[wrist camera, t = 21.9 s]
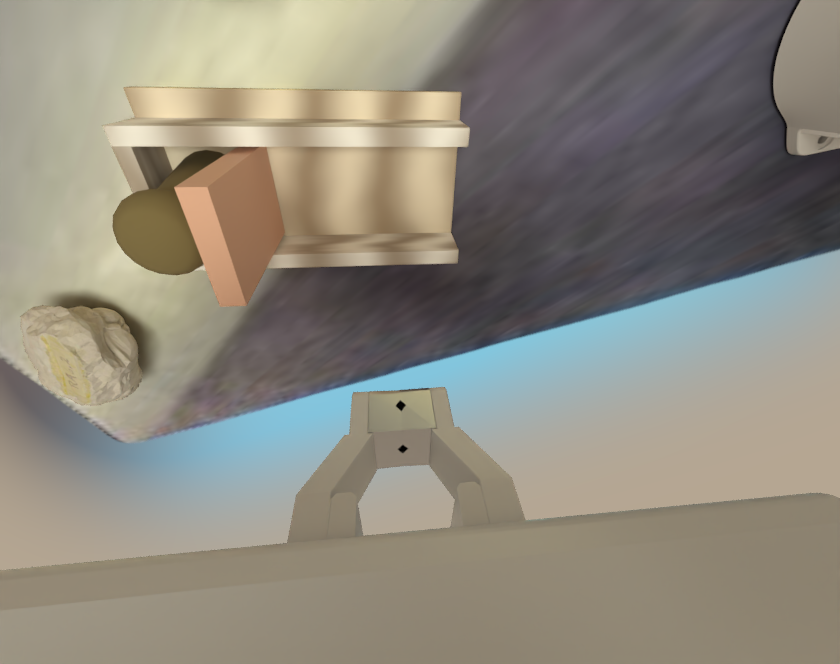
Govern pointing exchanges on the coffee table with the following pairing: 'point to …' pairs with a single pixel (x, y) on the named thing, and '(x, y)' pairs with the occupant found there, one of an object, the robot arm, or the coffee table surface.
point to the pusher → (234, 221)
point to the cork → (161, 222)
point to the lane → (317, 163)
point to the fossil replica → (82, 353)
